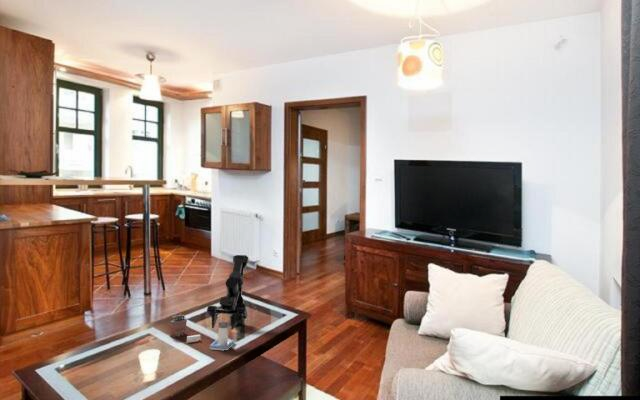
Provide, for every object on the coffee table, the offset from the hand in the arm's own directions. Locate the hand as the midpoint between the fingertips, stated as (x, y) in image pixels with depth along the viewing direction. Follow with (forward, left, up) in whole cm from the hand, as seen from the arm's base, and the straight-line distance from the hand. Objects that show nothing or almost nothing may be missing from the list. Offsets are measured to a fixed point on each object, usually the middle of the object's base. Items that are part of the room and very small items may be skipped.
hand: (222, 328), depth 163 cm
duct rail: (+10, -13, -9) cm, 18 cm away
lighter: (+15, -25, -9) cm, 30 cm away
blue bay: (-1, -1, -9) cm, 9 cm away
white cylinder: (-1, -1, -8) cm, 8 cm away
